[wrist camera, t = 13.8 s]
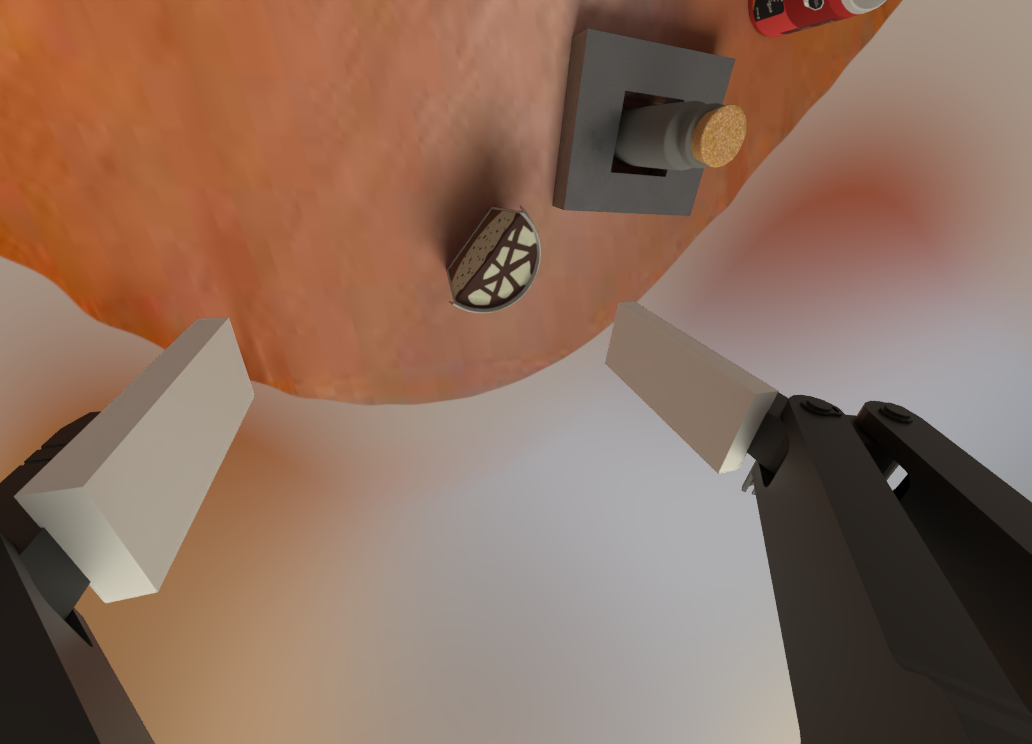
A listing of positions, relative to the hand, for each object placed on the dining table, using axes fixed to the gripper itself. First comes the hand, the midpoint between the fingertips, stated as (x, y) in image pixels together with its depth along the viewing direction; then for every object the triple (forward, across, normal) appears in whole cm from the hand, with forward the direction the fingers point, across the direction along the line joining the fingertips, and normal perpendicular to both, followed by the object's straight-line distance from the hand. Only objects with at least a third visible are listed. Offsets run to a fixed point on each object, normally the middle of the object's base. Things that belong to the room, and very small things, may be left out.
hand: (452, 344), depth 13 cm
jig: (+35, +27, +9) cm, 45 cm away
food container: (+35, +10, -5) cm, 37 cm away
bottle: (+35, +27, +9) cm, 45 cm away
